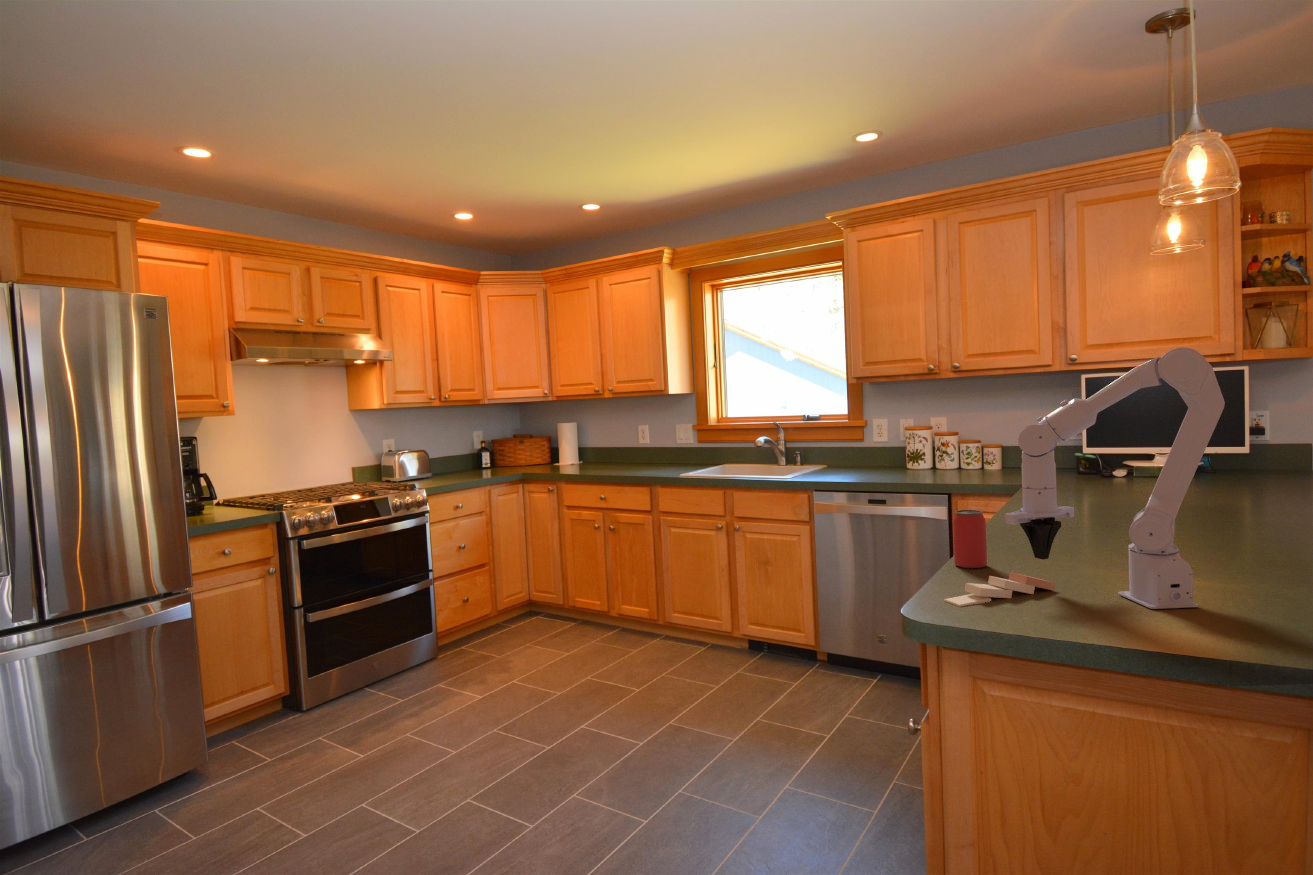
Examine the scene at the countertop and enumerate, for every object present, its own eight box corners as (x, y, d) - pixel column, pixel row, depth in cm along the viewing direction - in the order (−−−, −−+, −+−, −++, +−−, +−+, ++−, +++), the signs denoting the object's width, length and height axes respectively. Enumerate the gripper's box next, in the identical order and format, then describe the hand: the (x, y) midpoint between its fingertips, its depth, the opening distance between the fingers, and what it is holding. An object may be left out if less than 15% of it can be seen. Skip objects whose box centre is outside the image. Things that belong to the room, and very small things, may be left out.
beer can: (989, 569, 150) (987, 514, 150) (955, 569, 152) (953, 514, 152) (985, 562, 156) (983, 509, 156) (953, 561, 159) (951, 509, 158)
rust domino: (1037, 578, 136) (1010, 571, 134) (1055, 582, 133) (1027, 576, 130) (1036, 585, 136) (1008, 579, 134) (1053, 590, 132) (1025, 584, 130)
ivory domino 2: (996, 585, 133) (965, 582, 131) (1012, 590, 129) (981, 587, 128) (995, 592, 133) (964, 590, 131) (1011, 598, 129) (979, 596, 128)
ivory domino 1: (975, 593, 132) (944, 599, 130) (991, 598, 128) (959, 604, 126) (975, 600, 132) (944, 607, 130) (991, 606, 128) (959, 612, 126)
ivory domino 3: (1018, 581, 135) (989, 575, 133) (1035, 586, 131) (1005, 580, 129) (1016, 589, 135) (987, 583, 133) (1033, 594, 131) (1004, 588, 129)
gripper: (1051, 482, 139) (1054, 549, 140) (992, 488, 135) (994, 558, 136) (1082, 485, 132) (1085, 556, 133) (1021, 492, 128) (1023, 565, 129)
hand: (1041, 558), depth 134 cm, fingers closed
